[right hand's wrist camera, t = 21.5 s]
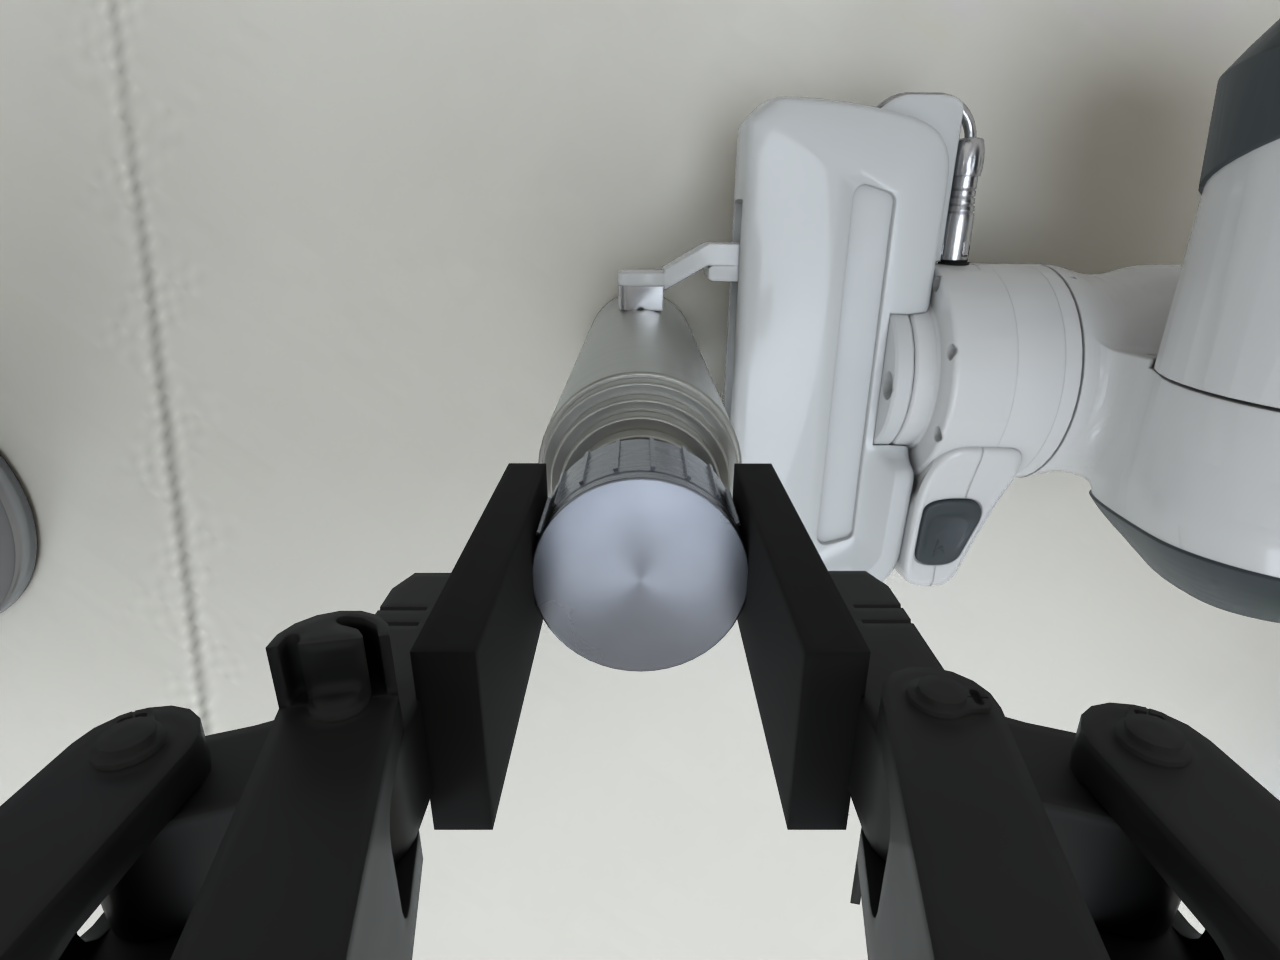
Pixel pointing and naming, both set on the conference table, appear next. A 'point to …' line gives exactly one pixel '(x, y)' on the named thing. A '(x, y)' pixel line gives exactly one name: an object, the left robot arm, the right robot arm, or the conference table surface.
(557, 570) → the cap
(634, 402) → the bottle
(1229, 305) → the left robot arm
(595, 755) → the conference table surface
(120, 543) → the conference table surface
